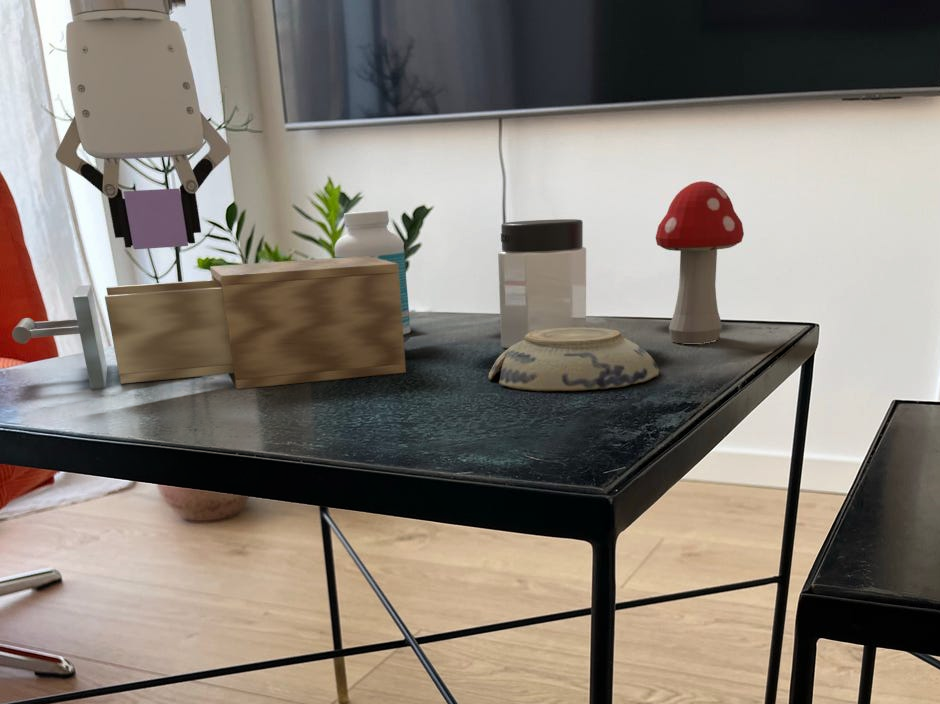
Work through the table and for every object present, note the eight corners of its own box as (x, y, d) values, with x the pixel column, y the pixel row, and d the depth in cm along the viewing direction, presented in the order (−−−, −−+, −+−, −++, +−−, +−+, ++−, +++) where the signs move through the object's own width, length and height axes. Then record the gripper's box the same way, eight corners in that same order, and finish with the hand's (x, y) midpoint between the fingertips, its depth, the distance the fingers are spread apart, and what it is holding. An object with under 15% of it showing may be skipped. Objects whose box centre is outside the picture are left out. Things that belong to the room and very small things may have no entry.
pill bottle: (401, 336, 117) (392, 209, 111) (418, 344, 110) (409, 209, 105) (337, 342, 115) (325, 212, 109) (351, 351, 108) (338, 213, 102)
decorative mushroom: (661, 333, 110) (665, 182, 104) (742, 333, 108) (751, 178, 102) (644, 347, 102) (648, 184, 96) (732, 348, 99) (742, 180, 93)
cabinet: (236, 389, 91) (220, 275, 87) (224, 368, 101) (210, 266, 98) (406, 372, 95) (398, 263, 91) (376, 353, 106) (368, 255, 102)
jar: (523, 338, 111) (520, 220, 106) (594, 340, 108) (594, 218, 103) (490, 351, 104) (485, 225, 99) (565, 353, 100) (564, 223, 96)
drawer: (23, 398, 86) (1, 302, 83) (33, 376, 96) (14, 290, 93) (260, 375, 91) (248, 284, 88) (247, 357, 101) (236, 275, 98)
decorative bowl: (695, 374, 88) (581, 354, 99) (697, 330, 86) (581, 315, 98) (562, 403, 80) (455, 377, 91) (562, 355, 79) (453, 335, 90)
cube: (133, 249, 87) (123, 191, 85) (133, 246, 91) (123, 191, 89) (188, 245, 89) (179, 188, 87) (185, 243, 93) (177, 188, 91)
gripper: (222, 10, 88) (251, 237, 95) (13, 12, 83) (61, 249, 91) (230, -4, 81) (261, 240, 89) (3, -4, 77) (56, 253, 84)
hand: (159, 242), depth 90 cm, fingers closed on cube, 4 cm apart
